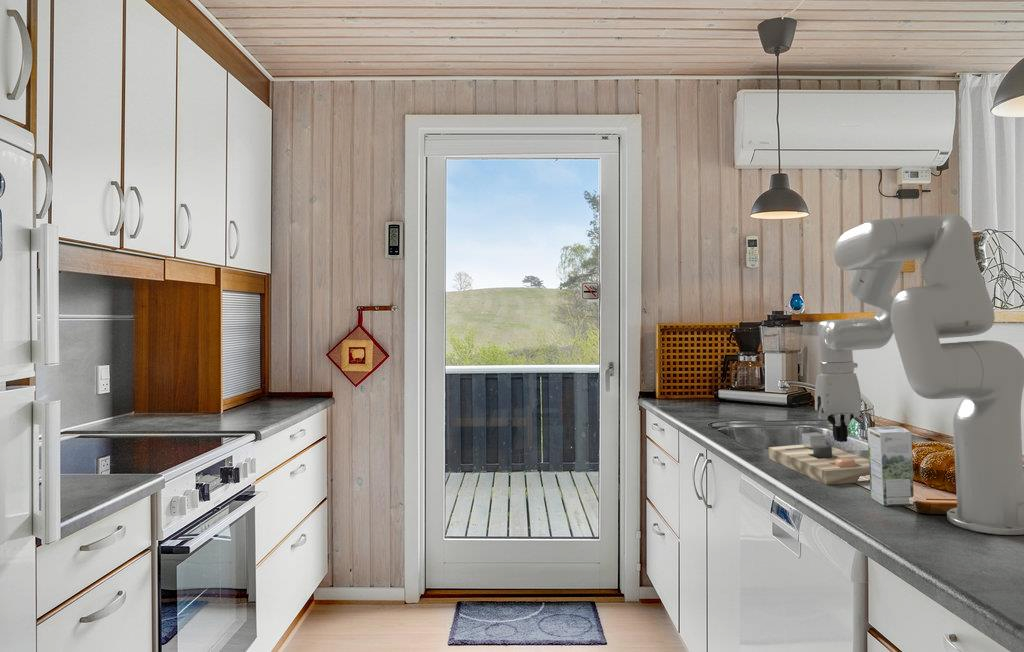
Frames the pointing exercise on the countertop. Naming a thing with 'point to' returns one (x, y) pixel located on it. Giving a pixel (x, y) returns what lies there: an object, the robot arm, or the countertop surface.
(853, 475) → the light wooden board
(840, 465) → the terracotta button
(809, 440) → the steel slider
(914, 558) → the countertop surface
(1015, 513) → the robot arm
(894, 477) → the syrup box
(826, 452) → the black button
